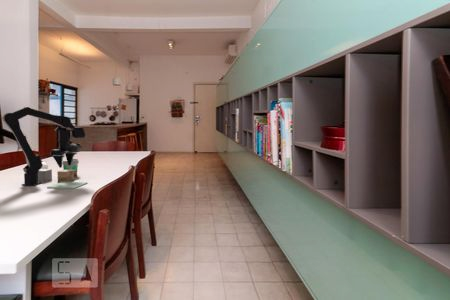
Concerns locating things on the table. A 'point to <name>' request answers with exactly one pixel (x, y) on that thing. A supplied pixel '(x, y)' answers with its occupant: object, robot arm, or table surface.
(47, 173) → the medium grey block
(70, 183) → the sage mat
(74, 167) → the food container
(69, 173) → the tan cube
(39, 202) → the table surface
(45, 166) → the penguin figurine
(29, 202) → the table surface
